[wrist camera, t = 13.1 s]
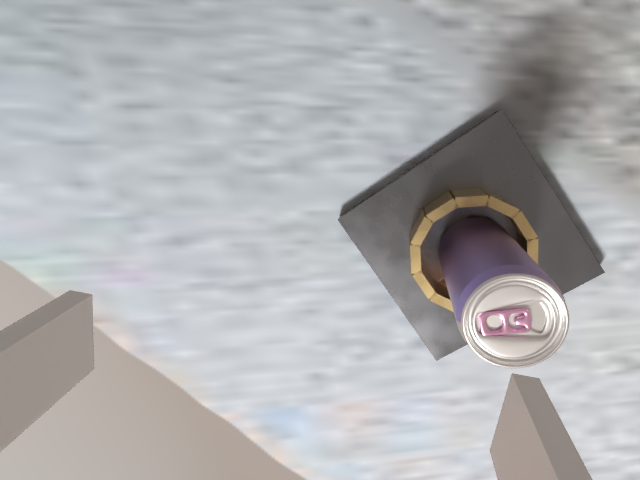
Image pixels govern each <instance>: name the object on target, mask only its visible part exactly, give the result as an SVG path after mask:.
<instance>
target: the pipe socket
mask: <svg viewBox="0 0 640 480" xmlns="http://www.w3.org/2000/svg"><path fill="white" fill-rule="evenodd" d="M469 218H485V219H489V220H492V221H494V222H496V223H497V224H499V225H500V226H502V227H503V228H504V229H505V230H506V231H507V233H508V234H509V235H510V236H511V237H512V238H513V239H514V240H515V241H516V242H517V243H518V244H519V245H520V246H521V247H522V248H523V249H524V251H525V252H526V253H527V254H528V255H529V256H530V257H531V258H532V259H533V260H534V261H535V262H536V263H537V264H538V265H539V266H540V267H541V269H542V270H543V271H544V272H545V273H546V274H547V275H548V276H549V277H550V278H551V279H552V280H553V281H554V282H555V283H556V285H557V286H558V287H559V289H560V290H561V292H562V294H564V293H566V292H568V291H570V290H572V289H574V288H576V287H578V286H580V285H582V284H584V283H585V282H587V281H589V280H591V279H593V278H595V277H597V276H599V275H601V274H603V273H605V272H604V270H603V269H602V267H601V266H600V264H599V262H598V261H597V259H596V258H595V256H594V255H593V253H592V251H591V250H590V248H589V247H588V245H587V243H586V242H585V240H584V239H583V237H582V235H581V234H580V232H579V231H578V229H577V227H576V226H575V224H574V223H573V221H572V220H571V218H570V216H569V215H568V213H567V212H566V210H565V208H564V207H563V205H562V204H561V202H560V200H559V199H558V197H557V196H556V194H555V192H554V191H553V189H552V188H551V186H550V185H549V183H548V181H547V180H546V178H545V177H544V175H543V173H542V172H541V170H540V169H539V167H538V165H537V164H536V162H535V161H534V159H533V157H532V156H531V154H530V153H529V151H528V150H527V148H526V146H525V145H524V143H523V142H522V140H521V138H520V137H519V135H518V134H517V132H516V130H515V129H514V127H513V126H512V124H511V122H510V121H509V119H508V118H507V116H506V115H505V113H504V111H503V110H499V111H497V112H496V113H494V114H493V115H491V116H490V117H488V118H487V119H485V120H484V121H482V122H481V123H479V124H478V125H476V126H475V127H473V128H472V129H470V130H469V131H467V132H466V133H464V134H463V135H461V136H460V137H458V138H457V139H455V140H454V141H452V142H451V143H449V144H448V145H446V146H445V147H443V148H442V149H440V150H439V151H437V152H436V153H434V154H433V155H431V156H430V157H428V158H427V159H425V160H424V161H422V162H421V163H419V164H418V165H416V166H415V167H413V168H412V169H410V170H409V171H407V172H406V173H404V174H403V175H401V176H400V177H398V178H397V179H395V180H394V181H392V182H391V183H389V184H388V185H386V186H385V187H383V188H382V189H380V190H379V191H377V192H376V193H374V194H373V195H371V196H370V197H368V198H367V199H365V200H364V201H362V202H361V203H359V204H358V205H356V206H355V207H353V208H352V209H350V210H349V211H347V212H346V213H344V214H343V215H341V216H340V217H339V218H338V221H339V222H340V223H341V225H342V226H343V228H344V229H345V231H346V232H347V233H348V235H349V236H350V238H351V239H352V241H353V242H354V243H355V245H356V246H357V248H358V249H359V251H360V252H361V253H362V255H363V256H364V258H365V259H366V261H367V262H368V263H369V265H370V266H371V268H372V269H373V271H374V272H375V273H376V275H377V276H378V278H379V279H380V281H381V282H382V283H383V285H384V286H385V288H386V289H387V291H388V292H389V293H390V295H391V296H392V298H393V299H394V301H395V302H396V303H397V305H398V306H399V308H400V309H401V311H402V312H403V313H404V315H405V316H406V318H407V319H408V321H409V322H410V323H411V325H412V326H413V328H414V329H415V331H416V332H417V333H418V335H419V336H420V338H421V339H422V341H423V342H424V343H425V345H426V346H427V348H428V349H429V351H430V352H431V353H432V355H433V356H434V358H435V359H436V361H437V360H438V359H440V358H442V357H444V356H446V355H448V354H450V353H452V352H454V351H456V350H458V349H459V348H461V347H463V346H465V345H467V343H466V341H465V340H464V339H463V337H462V335H461V333H460V331H459V329H458V325H457V322H456V318H455V314H454V311H453V307H452V303H451V300H450V296H449V292H448V289H447V285H446V281H445V278H444V274H443V271H442V267H441V263H440V259H439V247H440V243H441V240H442V238H443V236H444V235H445V233H446V232H447V231H448V230H449V229H450V228H451V227H452V226H453V225H455V224H456V223H458V222H460V221H462V220H465V219H469Z"/></svg>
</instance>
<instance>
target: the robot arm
mask: <svg viewBox="0 0 640 480" xmlns="http://www.w3.org/2000/svg"><path fill="white" fill-rule="evenodd" d="M93 369H94V344H93V306H92V294H87V293H82V292H76V291H71V290H70V291H68V292H66V293H65V294H63V295H61V296H60V297H58V298H56V299H54V300H53V301H51V302H49V303H48V304H46V305H44V306H42V307H41V308H39V309H37V310H35V311H34V312H32V313H30V314H29V315H27V316H25V317H23V318H22V319H20V320H18V321H17V322H15V323H13V324H12V325H10V326H8V327H6V328H5V329H3V330H1V331H0V452H1V451H2V450H3V449H4V448H5V447H7V446H8V445H9V444H10V443H11V442H12V441H13V440H14V439H16V438H17V437H18V436H19V435H20V434H21V433H22V432H23V431H24V430H25V429H27V428H28V427H29V426H30V425H31V424H32V423H34V422H35V421H36V420H37V419H38V418H39V417H40V416H41V415H43V414H44V413H45V412H46V411H47V410H48V409H49V408H50V407H52V405H54V404H55V403H56V402H57V401H58V400H59V399H61V398H62V397H63V396H64V395H65V394H66V393H67V392H68V391H70V390H71V389H72V388H73V387H74V386H75V385H76V384H77V383H79V382H80V381H81V380H82V379H83V378H84V377H85V376H86V375H87V374H89V373H90V372H91V371H92V370H93ZM490 453H491V457H492V460H493V464H494V468H495V471H496V475H497V478H498V480H592V478H591V476H590V474H589V473H588V471H587V469H586V467H585V465H584V463H583V461H582V459H581V457H580V455H579V453H578V452H577V450H576V448H575V446H574V444H573V442H572V440H571V438H570V436H569V434H568V433H567V431H566V429H565V427H564V425H563V423H562V421H561V419H560V417H559V415H558V414H557V412H556V410H555V408H554V406H553V404H552V402H551V400H550V398H549V396H548V394H547V393H546V391H545V389H544V387H543V385H542V383H541V381H540V379H539V378H534V377H528V376H523V375H518V374H512V375H511V378H510V382H509V385H508V389H507V392H506V396H505V399H504V403H503V406H502V410H501V413H500V416H499V420H498V423H497V427H496V430H495V434H494V437H493V441H492V444H491V448H490Z"/></svg>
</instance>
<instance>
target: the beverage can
mask: <svg viewBox="0 0 640 480" xmlns="http://www.w3.org/2000/svg"><path fill="white" fill-rule="evenodd" d="M439 259H440V263H441V267H442V271H443V274H444V278H445V281H446V285H447V289H448V292H449V296H450V300H451V303H452V307H453V311H454V314H455V318H456V322H457V325H458V329H459V331H460V333H461V335H462V337H463V339H464V340H465V341H466V343H467V344H468V345H469V346H470V348H471V349H472V350H473V351H474V352H475V353H476V354H477V355H478V356H479V357H481V358H482V359H484V360H485V361H487V362H489V363H491V364H494V365H497V366H500V367H505V368H524V367H529V366H532V365H535V364H538V363H540V362H542V361H544V360H546V359H547V358H549V357H550V356H551V355H553V354H554V353H555V352H556V351H557V350H558V348H559V347H560V346H561V344H562V343H563V341H564V339H565V337H566V335H567V332H568V327H569V313H568V309H567V306H566V303H565V300H564V297H563V294H562V292H561V290H560V289H559V287H558V286H557V285H556V283H555V282H554V281H553V280H552V279H551V278H550V277H549V276H548V275H547V274H546V273H545V272H544V271H543V270H542V269H541V267H540V266H539V265H538V264H537V263H536V262H535V261H534V260H533V259H532V258H531V257H530V256H529V255H528V254H527V253H526V252H525V251H524V249H523V248H522V247H521V246H520V245H519V244H518V243H517V242H516V241H515V240H514V239H513V238H512V237H511V236H510V235H509V234H508V233H507V231H506V230H505V229H504V228H503V227H502V226H500V225H499V224H497V223H496V222H494V221H492V220H489V219H485V218H469V219H465V220H462V221H460V222H458V223H456V224H455V225H453V226H452V227H451V228H450V229H449V230H448V231H447V232H446V233H445V235H444V236H443V238H442V240H441V243H440V247H439Z"/></svg>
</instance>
